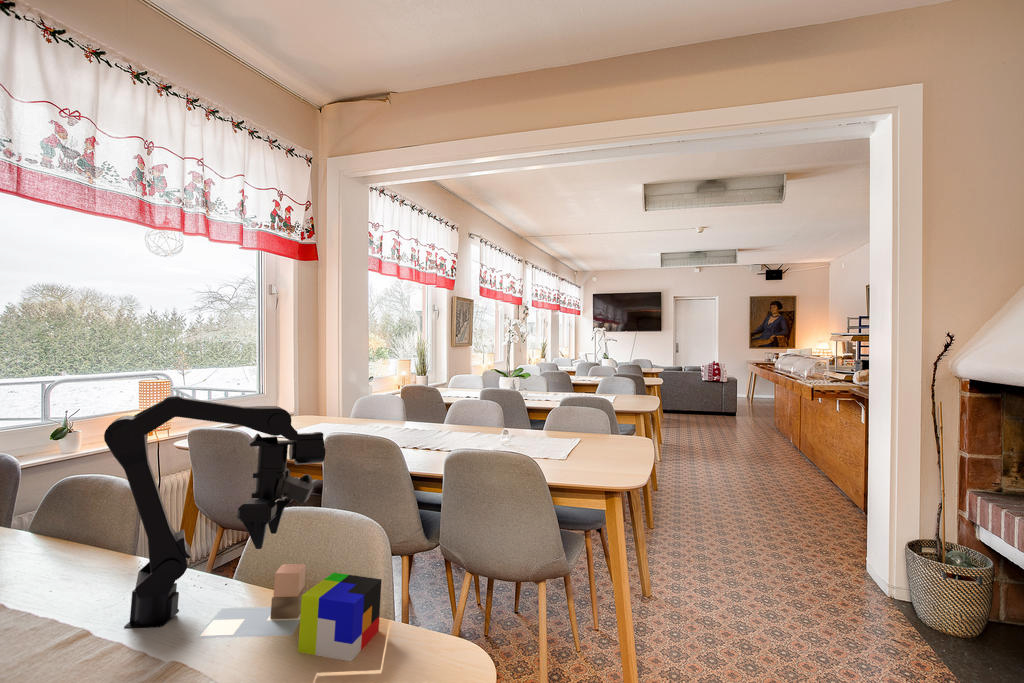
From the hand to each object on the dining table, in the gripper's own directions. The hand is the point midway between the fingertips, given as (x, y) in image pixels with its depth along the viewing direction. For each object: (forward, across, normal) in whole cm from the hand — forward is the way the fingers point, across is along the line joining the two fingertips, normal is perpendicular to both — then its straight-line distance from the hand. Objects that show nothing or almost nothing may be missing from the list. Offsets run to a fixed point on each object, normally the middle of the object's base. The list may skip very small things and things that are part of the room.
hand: (266, 540), depth 105 cm
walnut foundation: (+12, -7, -7) cm, 15 cm away
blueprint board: (+12, -10, -2) cm, 16 cm away
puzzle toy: (+12, -18, -19) cm, 29 cm away
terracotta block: (+8, -7, -7) cm, 12 cm away
